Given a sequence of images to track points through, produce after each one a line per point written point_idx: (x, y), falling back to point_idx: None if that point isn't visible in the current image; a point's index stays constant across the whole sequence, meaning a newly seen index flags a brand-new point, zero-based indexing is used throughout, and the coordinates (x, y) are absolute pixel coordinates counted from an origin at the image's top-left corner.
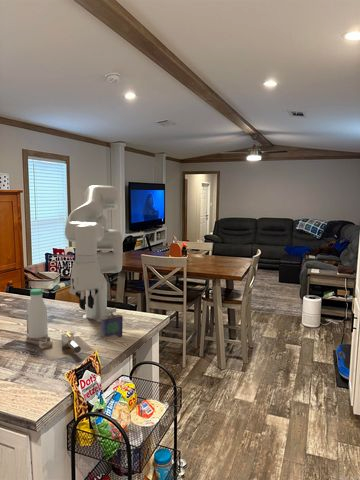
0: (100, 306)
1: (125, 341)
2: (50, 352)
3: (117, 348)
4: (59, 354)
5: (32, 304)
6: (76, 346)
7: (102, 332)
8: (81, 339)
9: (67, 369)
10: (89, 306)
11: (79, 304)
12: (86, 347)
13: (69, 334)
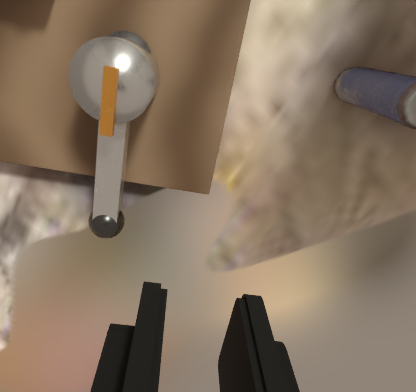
0: None
1: (390, 182)
2: (18, 75)
3: (311, 214)
4: (51, 132)
5: None
6: (98, 228)
7: (354, 99)
8: (238, 38)
9: (52, 232)
10: (228, 341)
11: (105, 344)
12: (196, 154)
13: (113, 105)
